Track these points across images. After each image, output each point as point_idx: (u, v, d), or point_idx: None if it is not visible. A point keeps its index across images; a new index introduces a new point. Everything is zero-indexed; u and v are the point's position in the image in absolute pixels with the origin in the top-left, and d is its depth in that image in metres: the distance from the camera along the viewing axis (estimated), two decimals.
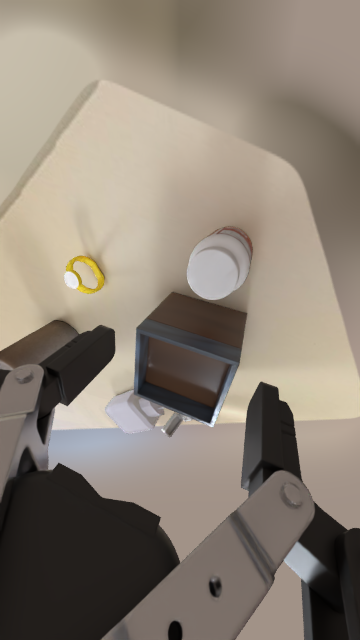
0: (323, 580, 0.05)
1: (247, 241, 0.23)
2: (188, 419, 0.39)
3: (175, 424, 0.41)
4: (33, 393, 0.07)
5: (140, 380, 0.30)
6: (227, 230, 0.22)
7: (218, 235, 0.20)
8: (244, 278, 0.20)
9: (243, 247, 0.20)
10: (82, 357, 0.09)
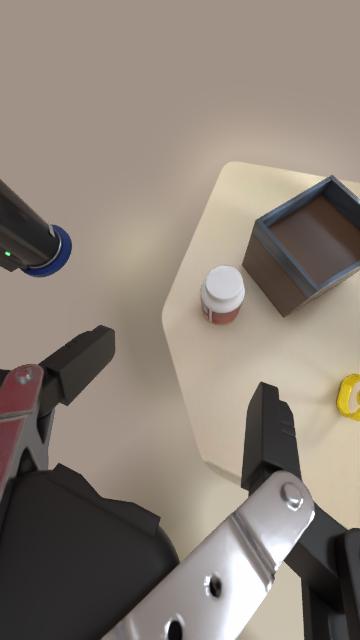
0: (323, 580, 0.05)
1: None
2: None
3: None
4: (33, 393, 0.07)
5: None
6: (205, 310, 0.32)
7: (206, 305, 0.29)
8: None
9: (201, 289, 0.30)
10: (82, 357, 0.09)
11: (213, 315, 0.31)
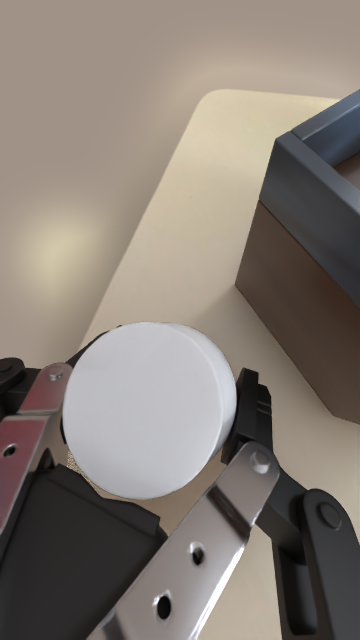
0: (285, 534, 0.06)
1: None
2: None
3: None
4: (60, 393, 0.07)
5: None
6: None
7: None
8: None
9: None
10: None
11: None
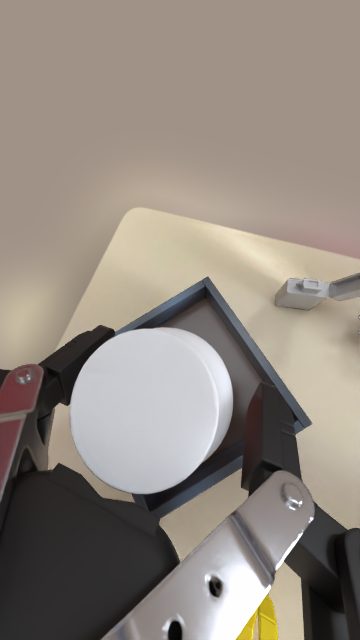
0: (323, 580, 0.05)
1: None
2: (311, 281, 0.21)
3: (350, 282, 0.21)
4: (33, 393, 0.07)
5: None
6: None
7: None
8: None
9: None
10: (82, 357, 0.09)
11: None
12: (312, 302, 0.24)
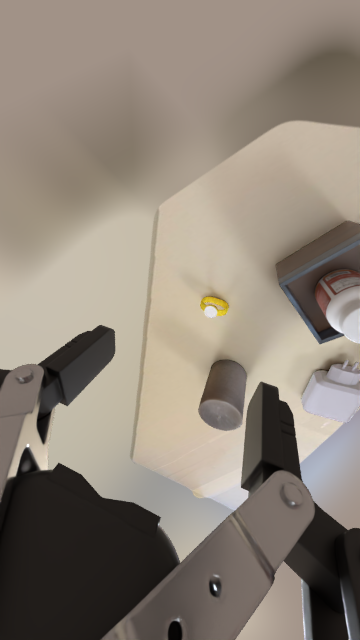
0: (323, 580, 0.05)
1: (356, 276, 0.26)
2: None
3: None
4: (33, 393, 0.07)
5: (314, 328, 0.33)
6: (335, 283, 0.26)
7: (340, 295, 0.24)
8: None
9: None
10: (82, 357, 0.09)
11: (326, 294, 0.27)
12: None
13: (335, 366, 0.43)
